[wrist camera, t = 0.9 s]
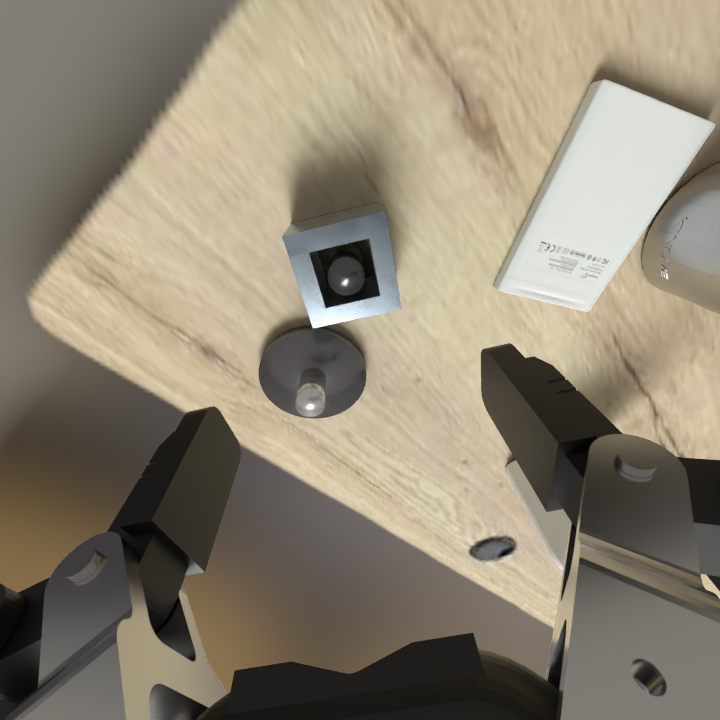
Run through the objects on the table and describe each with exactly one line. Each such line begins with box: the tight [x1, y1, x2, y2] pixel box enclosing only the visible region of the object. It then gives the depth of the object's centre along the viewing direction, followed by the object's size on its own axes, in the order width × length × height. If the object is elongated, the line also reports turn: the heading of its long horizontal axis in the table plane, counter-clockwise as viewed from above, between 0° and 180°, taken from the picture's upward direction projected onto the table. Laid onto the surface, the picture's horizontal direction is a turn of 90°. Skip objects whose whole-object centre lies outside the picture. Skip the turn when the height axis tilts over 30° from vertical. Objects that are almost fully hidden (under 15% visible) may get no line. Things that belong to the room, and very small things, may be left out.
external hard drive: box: [493, 79, 716, 312], centre depth 22 cm, size 2×8×12 cm
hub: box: [259, 326, 366, 418], centre depth 26 cm, size 9×9×4 cm
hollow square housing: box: [282, 202, 402, 328], centre depth 21 cm, size 6×6×4 cm
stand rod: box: [328, 243, 365, 295], centre depth 21 cm, size 2×2×4 cm
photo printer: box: [506, 460, 571, 571], centre depth 31 cm, size 10×4×12 cm, turn 125°
